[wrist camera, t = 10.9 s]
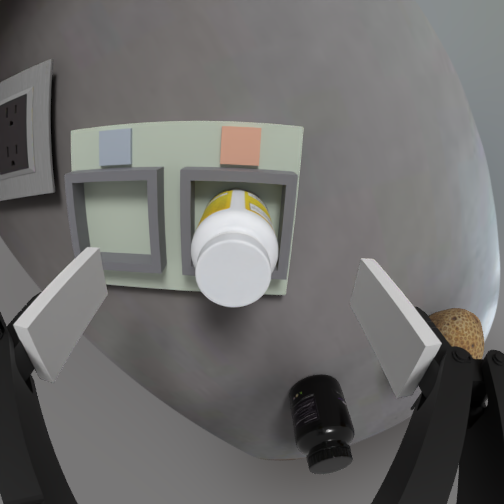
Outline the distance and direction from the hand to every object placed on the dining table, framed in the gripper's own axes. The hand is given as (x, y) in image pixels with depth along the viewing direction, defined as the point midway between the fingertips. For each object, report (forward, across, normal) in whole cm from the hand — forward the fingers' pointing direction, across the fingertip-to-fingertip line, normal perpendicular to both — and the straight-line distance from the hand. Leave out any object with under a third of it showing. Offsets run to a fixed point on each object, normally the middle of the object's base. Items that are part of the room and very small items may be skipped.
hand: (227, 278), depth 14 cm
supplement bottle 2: (+12, +11, -23) cm, 28 cm away
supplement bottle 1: (+11, 0, -1) cm, 11 cm away
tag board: (+12, -5, 0) cm, 13 cm away
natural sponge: (+12, +25, -12) cm, 30 cm away
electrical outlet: (+13, -23, +8) cm, 27 cm away
